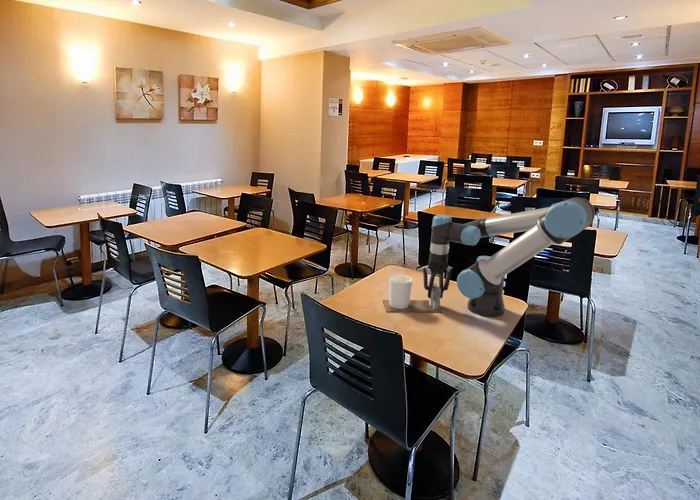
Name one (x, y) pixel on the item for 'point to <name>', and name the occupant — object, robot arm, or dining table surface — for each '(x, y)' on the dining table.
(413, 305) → the board
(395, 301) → the candle holder
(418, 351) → the dining table surface
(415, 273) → the dining table surface
